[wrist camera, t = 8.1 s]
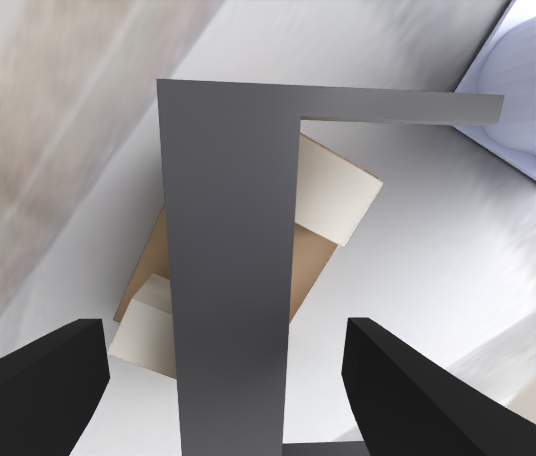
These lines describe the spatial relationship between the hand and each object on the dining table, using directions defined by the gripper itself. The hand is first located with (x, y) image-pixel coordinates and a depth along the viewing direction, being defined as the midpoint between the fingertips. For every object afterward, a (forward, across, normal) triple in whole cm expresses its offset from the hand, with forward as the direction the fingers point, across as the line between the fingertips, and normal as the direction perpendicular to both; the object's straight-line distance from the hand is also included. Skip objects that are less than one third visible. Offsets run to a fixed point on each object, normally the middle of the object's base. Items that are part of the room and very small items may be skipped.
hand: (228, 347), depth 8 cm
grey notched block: (+5, -3, 0) cm, 6 cm away
